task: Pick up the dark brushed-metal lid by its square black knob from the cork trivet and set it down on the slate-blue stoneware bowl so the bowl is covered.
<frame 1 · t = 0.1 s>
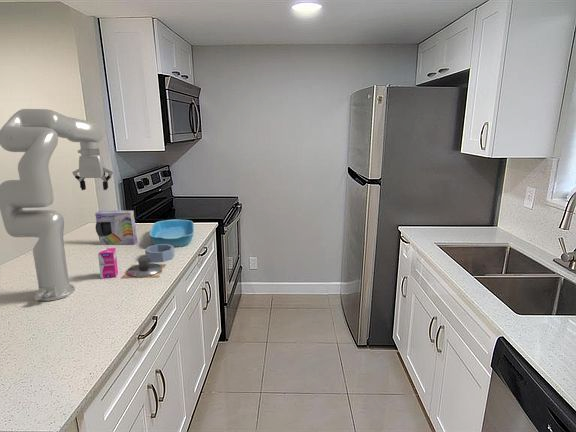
hand: (94, 189, 171), 31 cm above the counter, tool pointing down, fingers open, 9 cm apart
bowl: (160, 258, 173), on the counter
supplement box: (109, 276, 152), on the counter
casserole dish: (173, 240, 202), on the counter
cake pan box: (117, 244, 193), on the counter
lid: (144, 270, 157), resting on trivet
trivet: (144, 271, 157), on the counter
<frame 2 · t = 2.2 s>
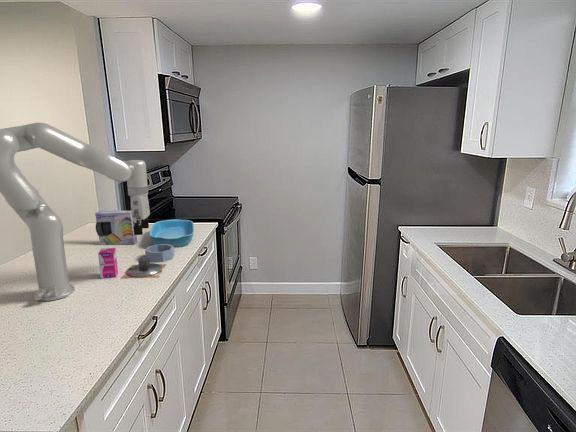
hand: (141, 231, 153), 18 cm above the counter, tool pointing down, fingers open, 9 cm apart
nothing on the counter moved.
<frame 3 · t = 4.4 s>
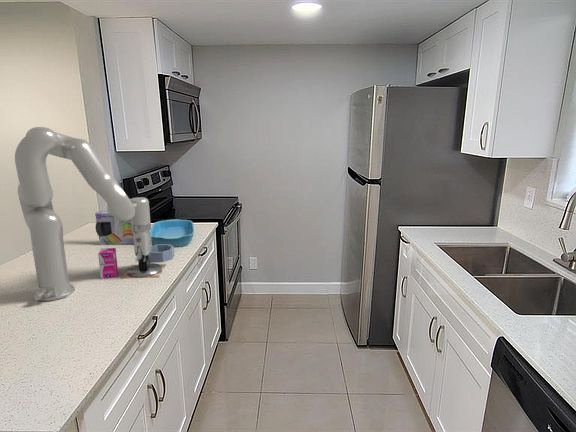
hand: (144, 268, 157), 2 cm above the counter, tool pointing down, fingers closed on lid, 3 cm apart
lid: (144, 270, 157), resting on trivet, touching gripper
everything else where it was.
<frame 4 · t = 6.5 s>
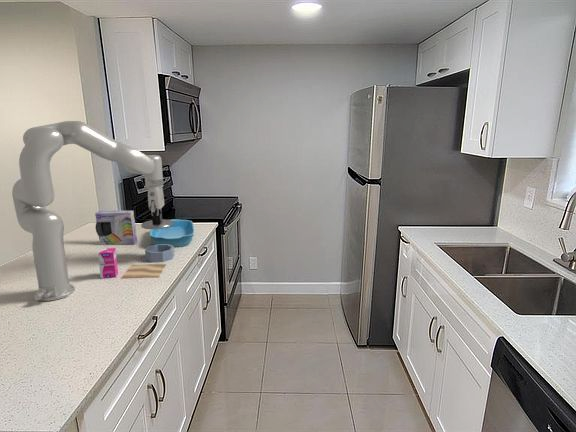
hand: (157, 222, 168), 18 cm above the counter, tool pointing down, fingers closed on lid, 3 cm apart
lid: (157, 225, 168), point 16 cm above the counter, touching gripper
everything else where it was.
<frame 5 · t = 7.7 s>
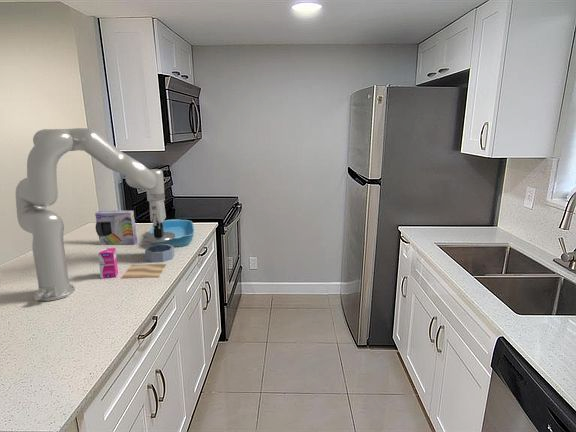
hand: (159, 235, 170), 11 cm above the counter, tool pointing down, fingers closed on lid, 3 cm apart
lid: (159, 237, 170), point 10 cm above the counter, touching gripper
everything else where it was.
when the fingers open (7 cm above the counter, at t = 8.6 s): lid drops 1 cm, resting on bowl.
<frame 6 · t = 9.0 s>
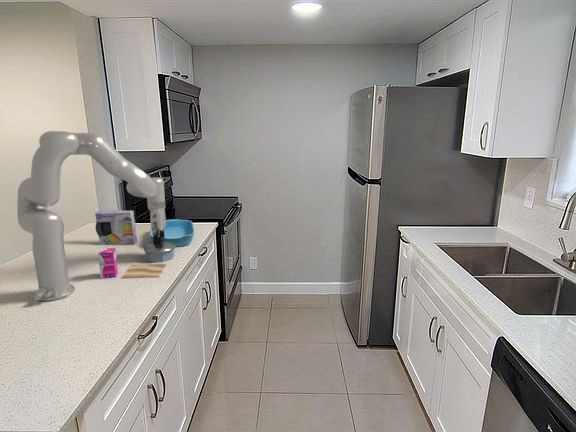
hand: (159, 242, 171), 8 cm above the counter, tool pointing down, fingers open, 7 cm apart
lid: (159, 248, 171), point 5 cm above the counter, touching bowl
everything else where it was.
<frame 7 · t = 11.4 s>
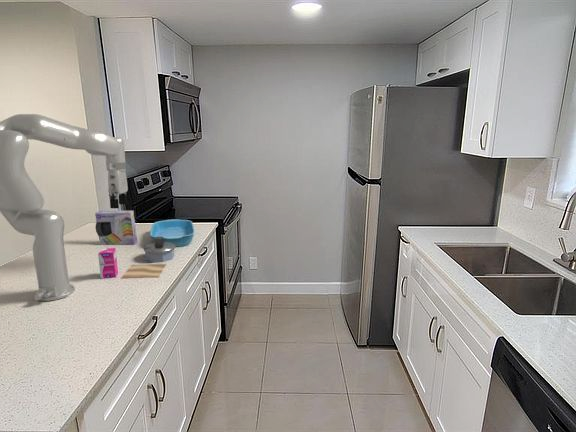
hand: (118, 206, 160), 26 cm above the counter, tool pointing down, fingers open, 9 cm apart
nothing on the counter moved.
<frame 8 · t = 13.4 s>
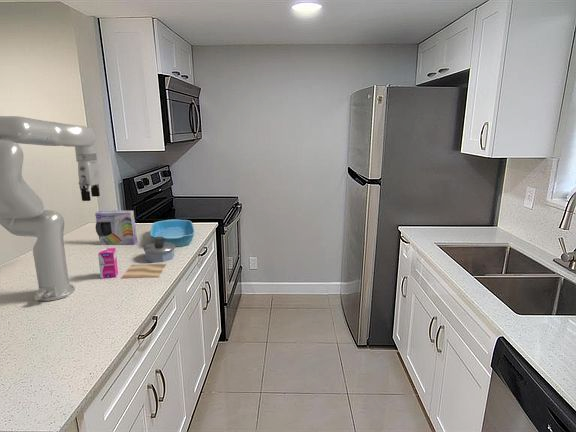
hand: (91, 198, 156), 30 cm above the counter, tool pointing down, fingers open, 9 cm apart
nothing on the counter moved.
at the end: lid 0.1 cm off-centre on the bowl, point 5.0 cm above the bowl's base; lid tilted 0°; lid touching bowl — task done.
